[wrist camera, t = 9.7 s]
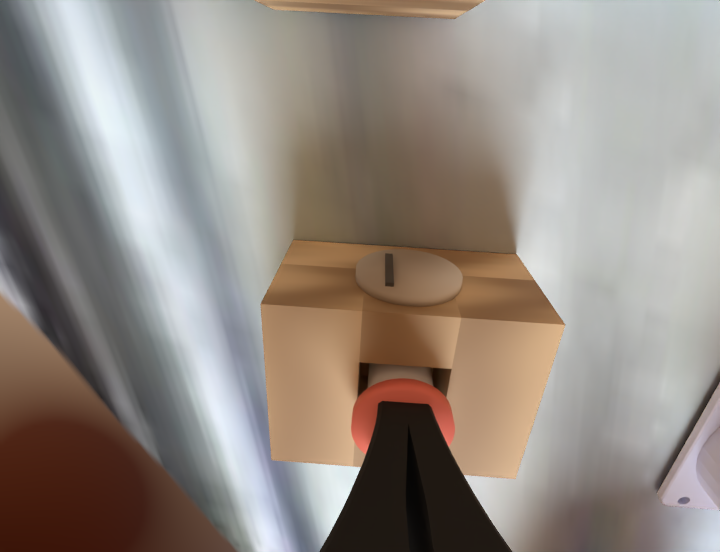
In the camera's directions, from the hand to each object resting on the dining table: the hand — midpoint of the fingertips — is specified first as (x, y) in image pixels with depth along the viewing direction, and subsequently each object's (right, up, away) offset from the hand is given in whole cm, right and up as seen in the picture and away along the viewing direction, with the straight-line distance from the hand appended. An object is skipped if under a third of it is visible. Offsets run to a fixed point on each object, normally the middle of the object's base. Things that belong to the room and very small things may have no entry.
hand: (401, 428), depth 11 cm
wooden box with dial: (0, +2, +5) cm, 6 cm away
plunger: (0, +2, +3) cm, 3 cm away
